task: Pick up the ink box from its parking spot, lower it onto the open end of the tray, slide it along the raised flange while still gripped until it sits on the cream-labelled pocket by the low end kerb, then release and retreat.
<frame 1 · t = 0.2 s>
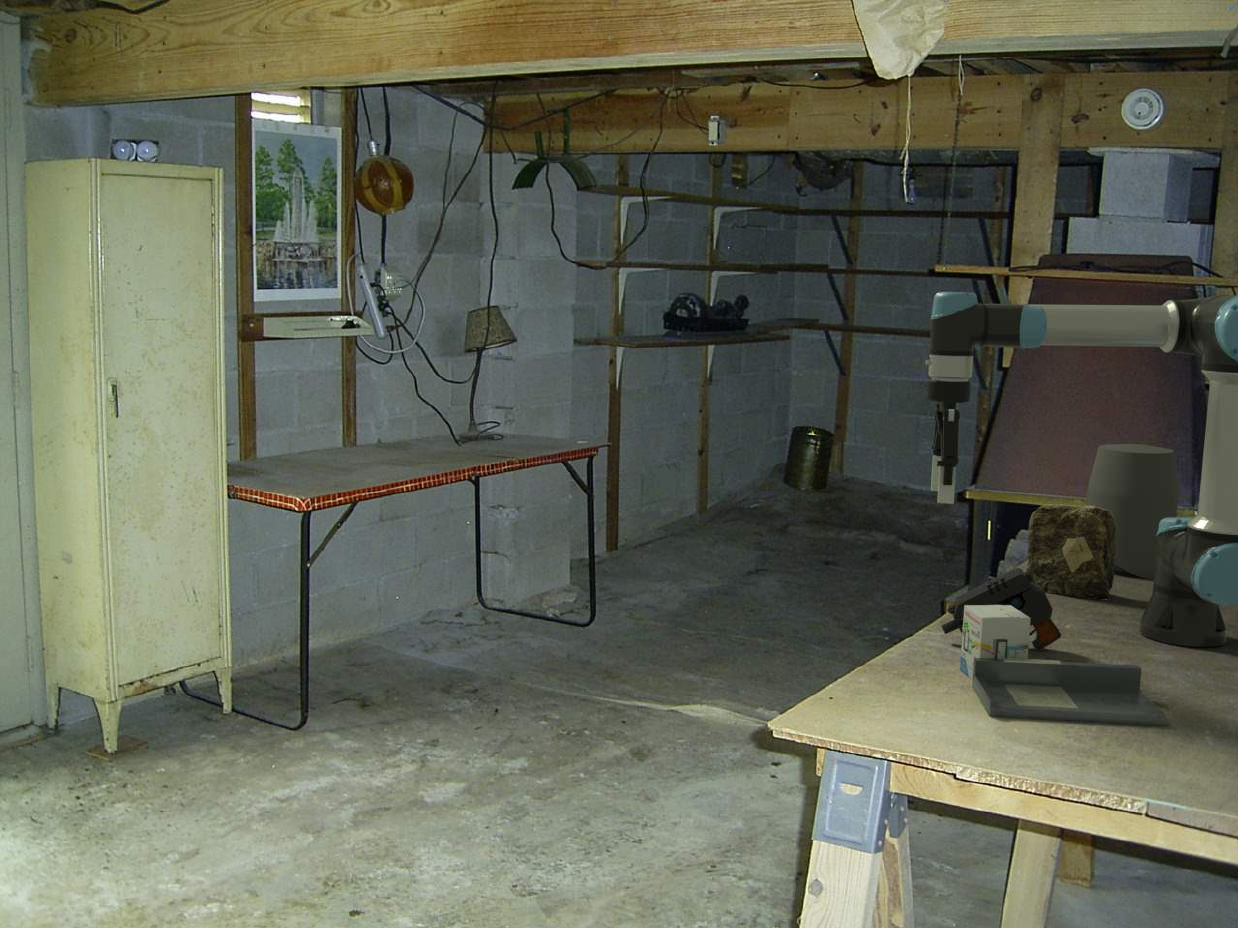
hand: (941, 497, 219), 28 cm above the table, fingers open, 13 cm apart
tray: (1064, 705, 191), on the table
stone block: (1067, 593, 265), on the table
ink box: (992, 678, 205), on the table
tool: (998, 647, 223), on the table
grey tapered cylinder: (1125, 569, 291), on the table
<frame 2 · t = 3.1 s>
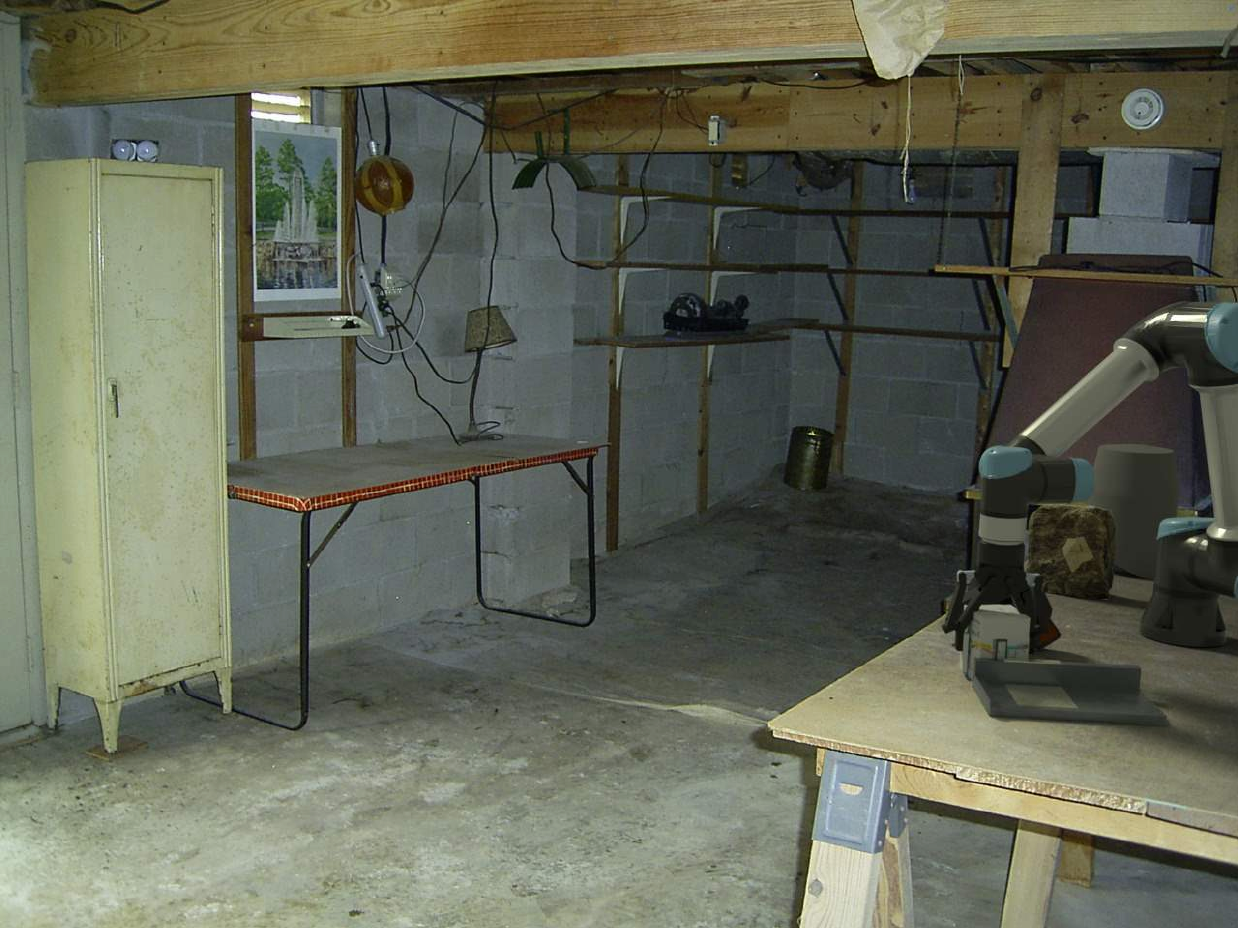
hand: (992, 670, 204), 1 cm above the table, fingers closed on ink box, 9 cm apart
ink box: (992, 678, 205), on the table, touching gripper
everything else where it was.
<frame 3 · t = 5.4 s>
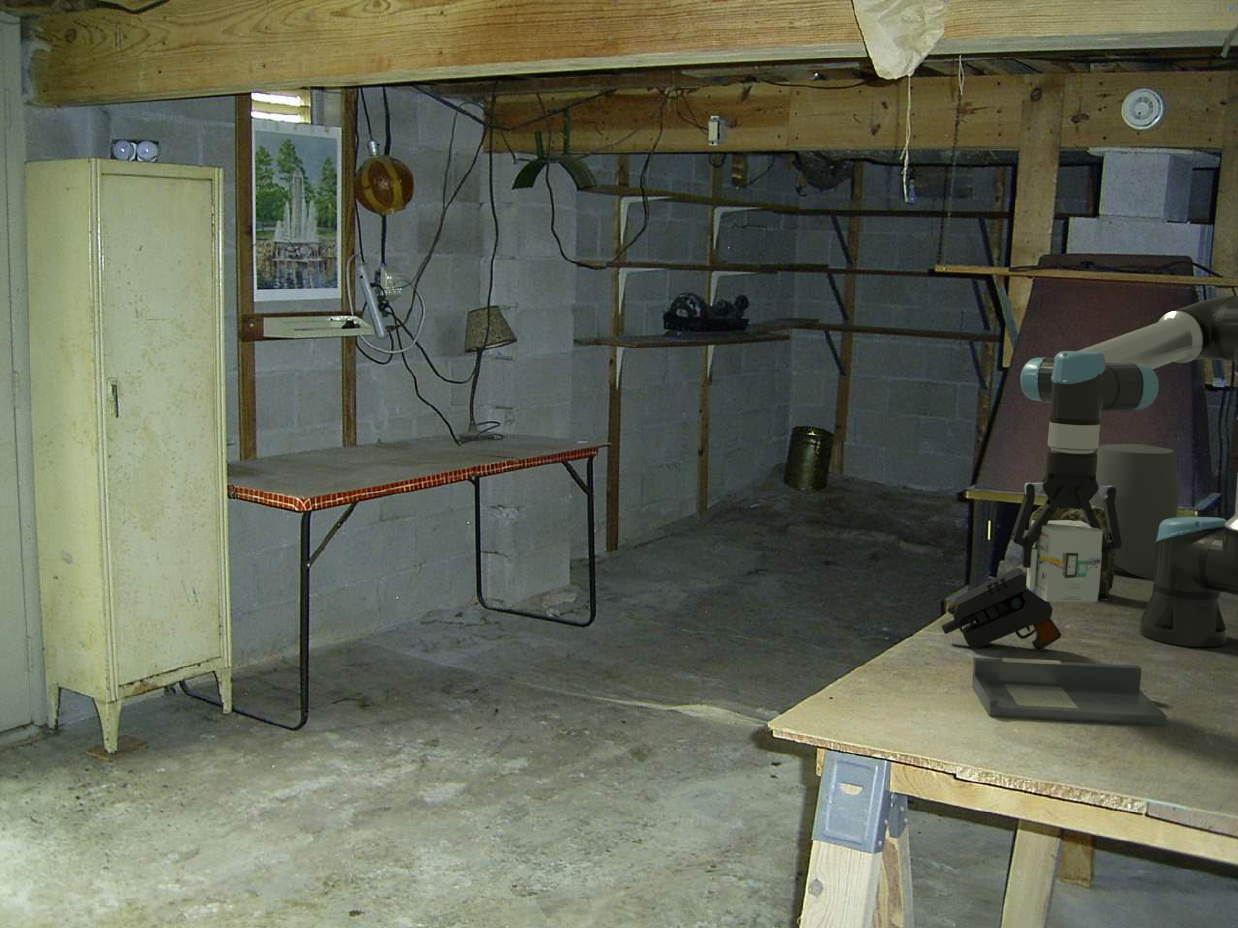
hand: (1062, 589, 194), 17 cm above the table, fingers closed on ink box, 9 cm apart
ink box: (1061, 596, 194), point 16 cm above the table, touching gripper
everything else where it was.
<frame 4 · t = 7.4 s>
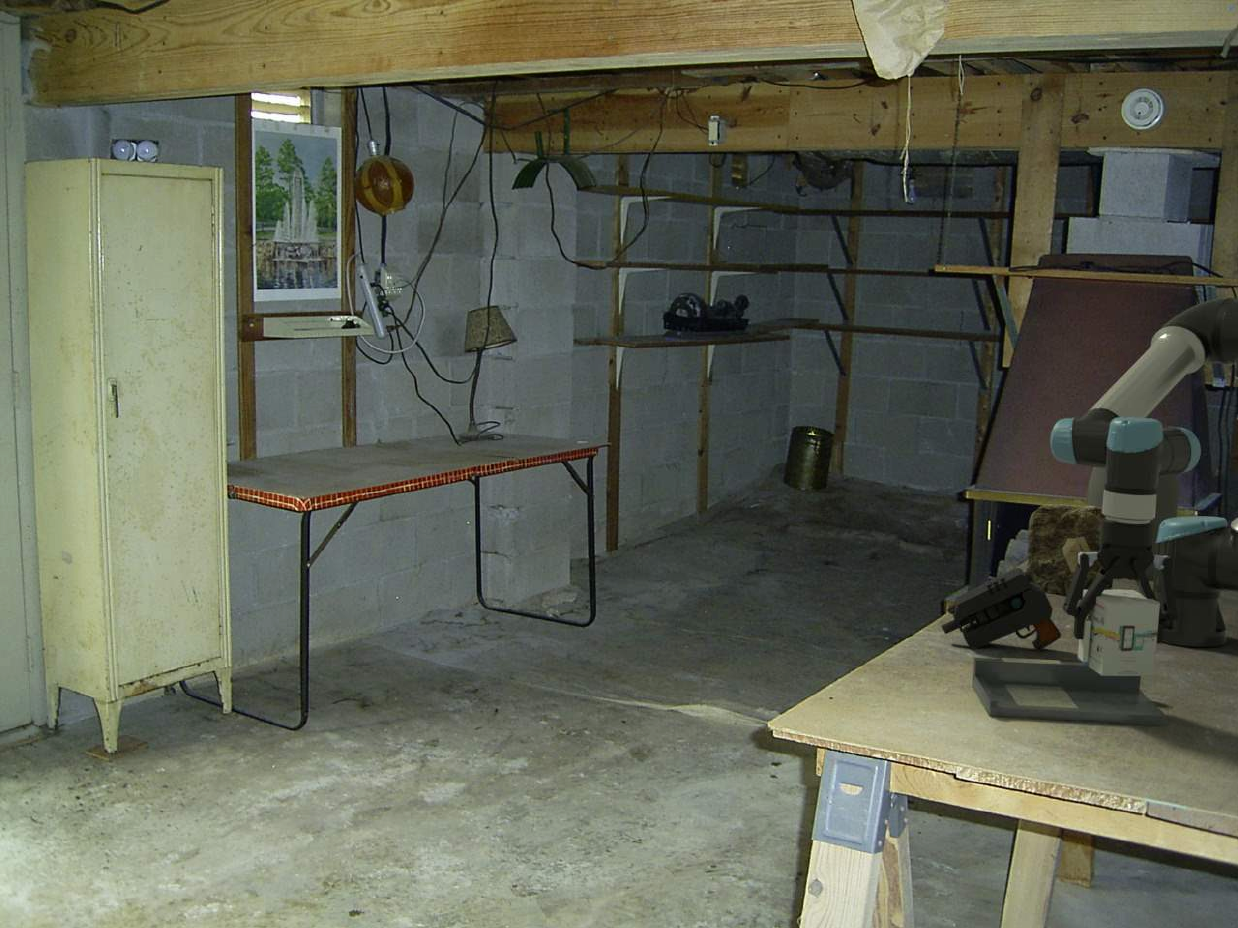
hand: (1115, 661, 189), 8 cm above the table, fingers closed on ink box, 9 cm apart
ink box: (1114, 668, 189), point 7 cm above the table, touching gripper
everything else where it was.
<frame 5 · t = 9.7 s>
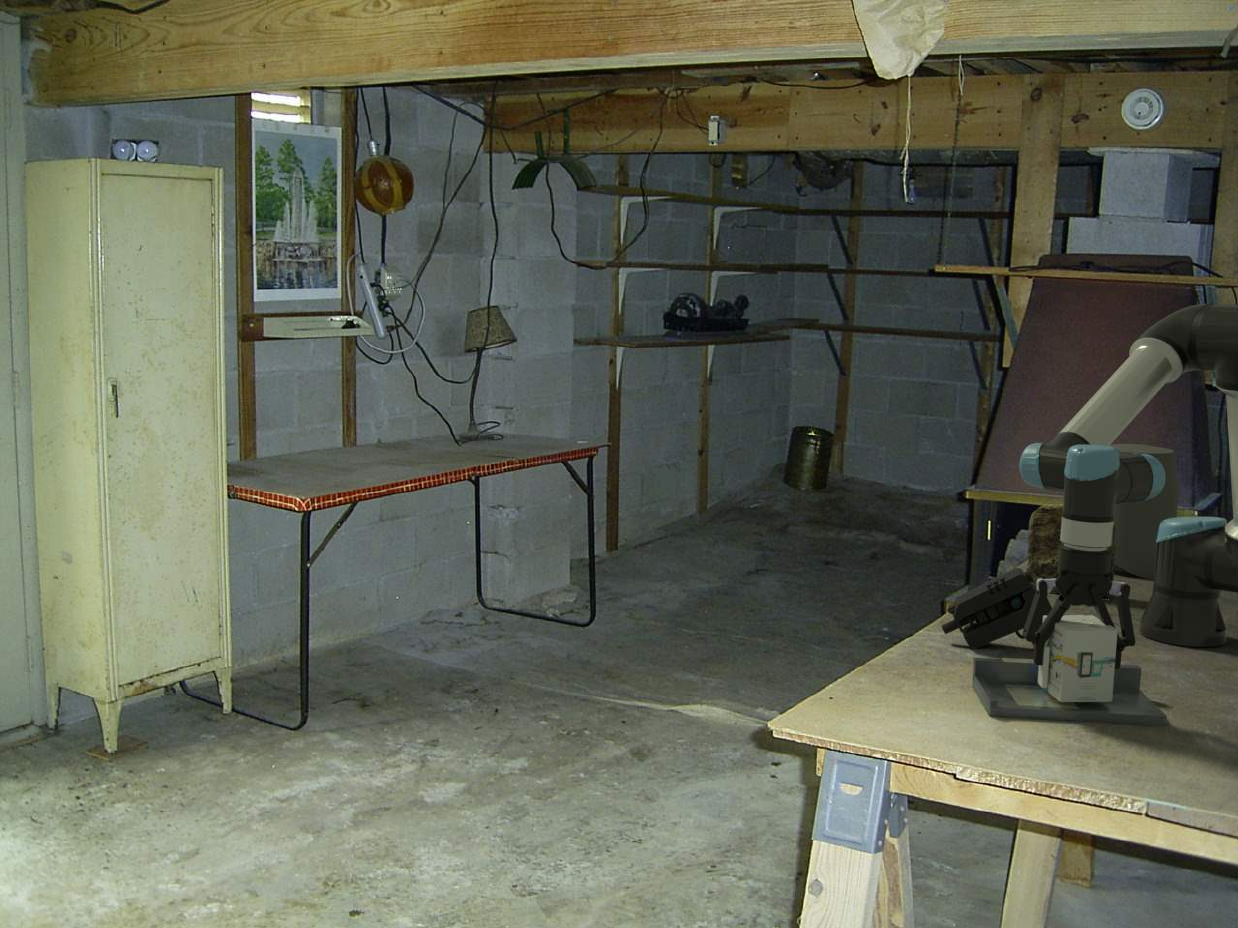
hand: (1074, 686, 190), 3 cm above the table, fingers closed on ink box, 9 cm apart
ink box: (1074, 694, 190), point 2 cm above the table, touching gripper
everything else where it was.
when the fingers open (3 cm above the table, at t = 11.5 s): ink box stays where it is, resting on tray.
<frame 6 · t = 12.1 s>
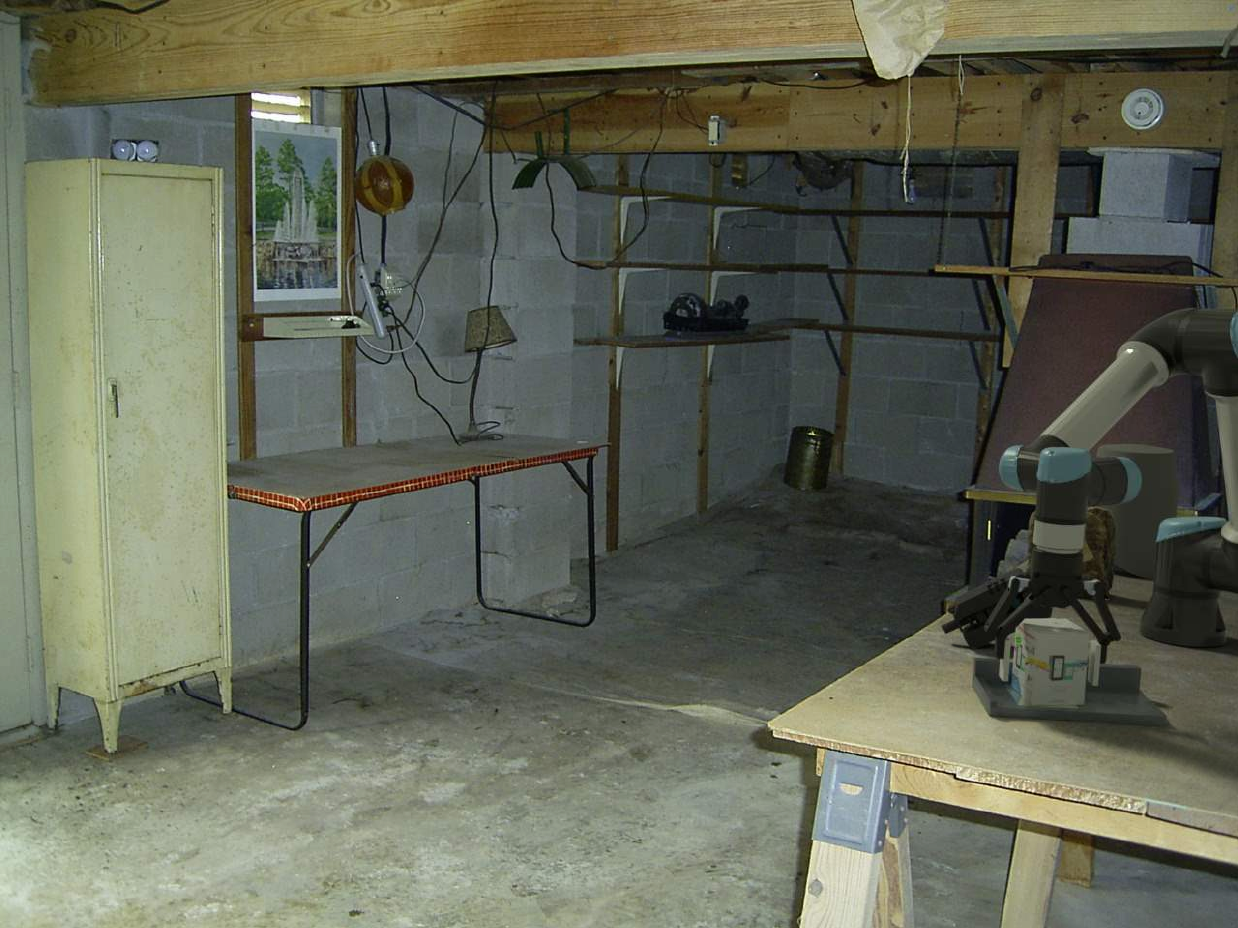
hand: (1047, 681, 190), 4 cm above the table, fingers open, 13 cm apart
ink box: (1046, 697, 191), point 1 cm above the table, touching tray
everything else where it was.
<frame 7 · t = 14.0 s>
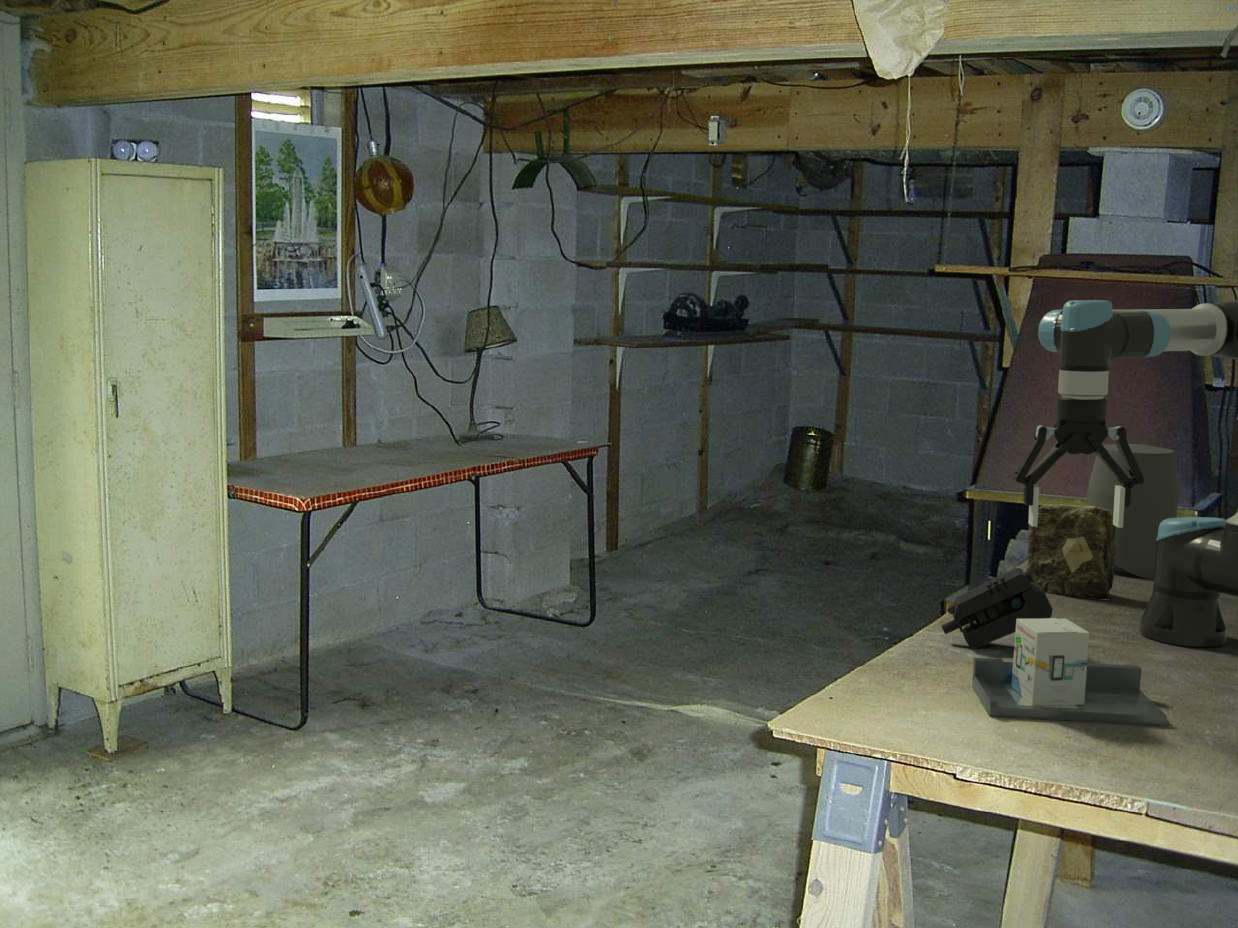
hand: (1075, 525, 199), 27 cm above the table, fingers open, 13 cm apart
nothing on the table moved.
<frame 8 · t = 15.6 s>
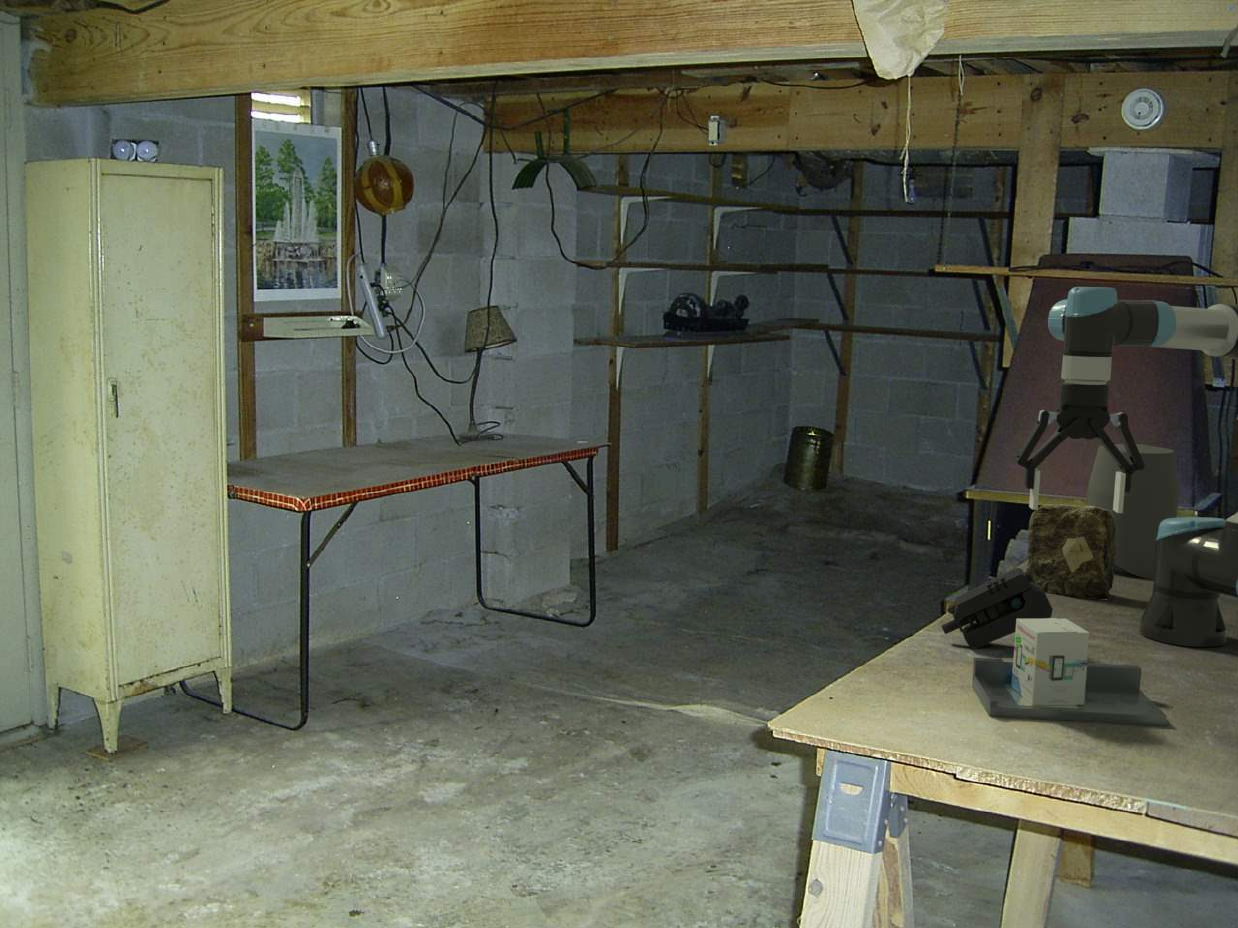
hand: (1075, 510, 201), 29 cm above the table, fingers open, 13 cm apart
nothing on the table moved.
at the end: ink box inside the target area on the tray (0.8 cm from its centre), point 1.3 cm above the tray's base; ink box tilted 0°; the gripper is holding nothing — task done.
